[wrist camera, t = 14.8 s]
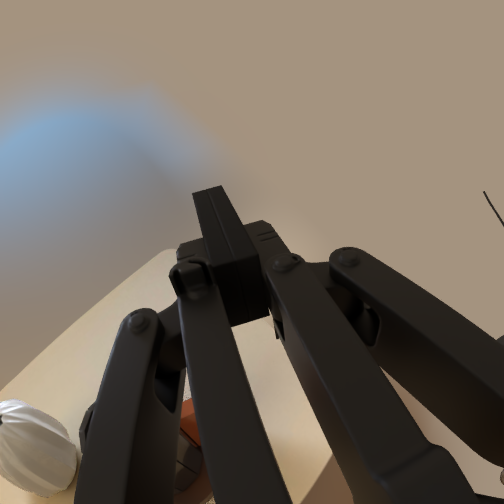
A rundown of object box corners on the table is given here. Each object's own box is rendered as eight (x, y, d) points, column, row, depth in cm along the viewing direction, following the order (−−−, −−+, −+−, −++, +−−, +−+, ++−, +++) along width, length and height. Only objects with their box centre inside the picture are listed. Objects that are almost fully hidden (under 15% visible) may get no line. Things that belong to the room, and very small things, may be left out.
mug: (136, 407, 35) (102, 371, 30) (240, 417, 33) (222, 381, 28) (114, 484, 25) (67, 460, 20) (229, 509, 23) (202, 499, 17)
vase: (65, 414, 35) (13, 365, 28) (103, 476, 27) (38, 438, 20) (17, 452, 28) (-39, 410, 20) (46, 517, 19) (-24, 486, 12)
